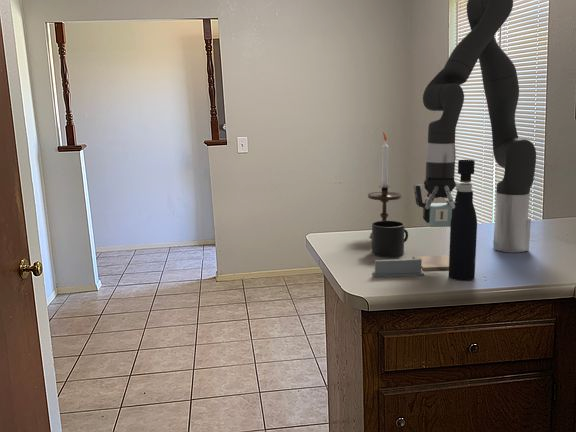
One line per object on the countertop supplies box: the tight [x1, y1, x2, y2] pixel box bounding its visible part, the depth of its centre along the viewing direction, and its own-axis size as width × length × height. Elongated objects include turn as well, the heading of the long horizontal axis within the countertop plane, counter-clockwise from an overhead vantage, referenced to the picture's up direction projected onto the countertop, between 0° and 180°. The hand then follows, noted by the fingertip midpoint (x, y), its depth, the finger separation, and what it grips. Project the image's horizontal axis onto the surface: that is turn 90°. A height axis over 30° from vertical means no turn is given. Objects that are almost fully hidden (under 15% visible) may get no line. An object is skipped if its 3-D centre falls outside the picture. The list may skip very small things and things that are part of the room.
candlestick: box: [367, 131, 402, 239], centre depth 185 cm, size 11×11×35 cm
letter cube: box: [425, 202, 452, 228], centre depth 154 cm, size 6×6×6 cm
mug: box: [371, 220, 409, 258], centre depth 168 cm, size 9×12×9 cm
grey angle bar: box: [372, 258, 425, 278], centre depth 147 cm, size 13×3×4 cm, turn 92°
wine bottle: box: [448, 159, 478, 282], centre depth 142 cm, size 6×6×30 cm
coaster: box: [412, 254, 449, 271], centre depth 156 cm, size 11×11×1 cm
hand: (438, 221), depth 154 cm, fingers closed on letter cube, 5 cm apart
